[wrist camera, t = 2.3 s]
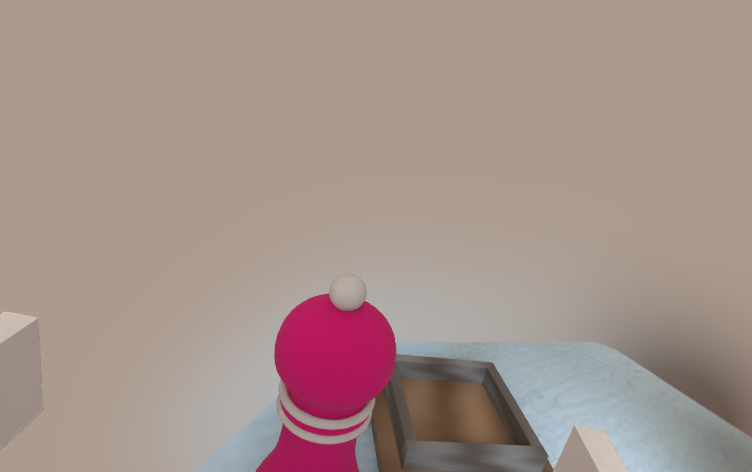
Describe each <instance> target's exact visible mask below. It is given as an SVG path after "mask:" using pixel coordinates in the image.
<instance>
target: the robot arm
mask: <svg viewBox="0 0 752 472" xmlns="http://www.w3.org/2000/svg"><path fill="white" fill-rule="evenodd" d="M42 411H43V392H42V374H41V355H40V337H39V319H38V318H36V317H32V316H27V315H22V314H17V313H12V312H6V311H5V312H4V313H2V314H0V451H1V450H2V449H3V448H4V447H5V446H6V445H7V444H8V443H9V442H10V441H11V440H13V439H14V438H15V437H16V436H17V435H18V434H19V433H20V432H21V431H22V430H23V429H24V428H25V427H26V426H27V425H28V424H29V423H30V422H32V421H33V420H34V419H35V418H36V417H37V416H38V415H39V414H40V413H41V412H42ZM553 472H629V471H628V470H627V468H626V466H625V465H624V463H623V461H622V460H621V458H620V456H619V455H618V453H617V451H616V450H615V448H614V447H613V445H612V443H611V442H610V440H609V438H608V437H607V435H606V433H605V432H604V431H601V430H596V429H591V428H586V427H581V426H576V425H574V427H573V430H572V432H571V434H570V436H569V438H568V440H567V442H566V445H565V447H564V449H563V451H562V453H561V455H560V457H559V460H558V462H557V464H556V466H555V468H554V470H553Z"/></svg>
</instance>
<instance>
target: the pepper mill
mask: <svg viewBox="0 0 752 472" xmlns="http://www.w3.org/2000/svg"><path fill="white" fill-rule="evenodd" d="M366 294H367V293H366V286H365V284H364V283H363V281H362V280H361V279H360V278H359V277H358V276H355V275H353V274H343V275H340V276H339V277H337V278H335V279H334V281H333V282H332V283H331V285H330V290H329V294H323V295H318V296H315V297H312V298H310V299H308V300H306V301H304V302H302V303H301V304H299V305H298V306H296V308H294V309H293V310H292V311H291V312H290V314H289V315H288V316H287V317H286V318H285V320H284V322H283V324H282V326H281V328H280V330H279V332H278V335H277V339H276V344H275V365H276V369H277V372H278V374H279V376H280V378H281V381H280V385H279V395H278V398H277V411H278V415H279V417H280V419H281V420H282V422H283V426H282V430H281V434H280V438H279V441H278V443H277V445H276V447H275V448H274V450H273V451H272V452H271V453H270V454H269V455H268V456H267V457H266V459H265V460H264V461H263V462H262V463H261V465H260V466H259V467H258V468H257V470H256V472H359V470H358V466H357V462H356V457H355V444H356V437H357V436H359V435H360V434H361V433H362V432H363V431H364V430H365V429H366V428H367V426H368V425H369V423H370V420H371V416H372V410H373V408H374V404H375V397H376V396H377V395H378V394H379V393H380V392H381V391H382V390H383V389H384V388H385V387H386V385H387V384H388V382H389V380H390V378H391V375H392V373H393V370H394V366H395V360H396V343H395V337H394V333H393V331H392V328H391V326H390V324H389V323H388V321H387V319H386V318H385V317H384V316H383V315H382V313H381V312H379V310H377V309H376V308H375V307H374V306H372V305H371V304H369V303H368V302H366V301H365V298H366Z"/></svg>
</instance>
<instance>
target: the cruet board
mask: <svg viewBox="0 0 752 472" xmlns="http://www.w3.org/2000/svg"><path fill="white" fill-rule="evenodd" d="M371 423H372V429H373V435H374V441H375V447H376V453H377V459H378V465H379V471H380V472H553V468H552V466H551V465H550V463H549V461H548V455H547V453H546V451H545V450H544V448H543V446H542V445H541V443H540V441H539V440H538V438H537V436H536V435H535V433H534V431H533V430H532V428H531V426H530V425H529V423H528V421H527V419H526V418H525V416H524V414H523V413H522V411H521V409H520V408H519V406H518V404H517V403H516V401H515V399H514V398H513V396H512V394H511V393H510V391H509V389H508V388H507V386H506V384H505V383H504V381H503V379H502V378H501V376H500V374H499V373H498V371H497V369H496V368H495V366H494V364H493V363H490V362H478V361H466V360H455V359H443V358H431V357H420V356H408V355H397V354H396V360H395V366H394V370H393V373H392V375H391V378H390V380H389V382H388V384H387V385H386V387H385V388H384V389H383V390H382V391H381V392H380V393H379V394H378V395H377V396H376V397H375V404H374V408H373V410H372V416H371Z"/></svg>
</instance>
